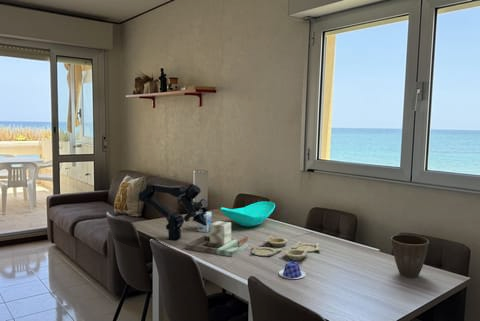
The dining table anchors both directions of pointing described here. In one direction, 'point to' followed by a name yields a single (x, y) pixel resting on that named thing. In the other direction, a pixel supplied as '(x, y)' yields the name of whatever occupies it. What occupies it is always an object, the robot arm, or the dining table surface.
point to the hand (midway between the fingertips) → (206, 225)
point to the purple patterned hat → (292, 271)
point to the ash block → (220, 232)
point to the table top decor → (250, 213)
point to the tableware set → (294, 253)
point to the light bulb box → (208, 220)
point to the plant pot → (409, 254)
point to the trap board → (218, 246)
